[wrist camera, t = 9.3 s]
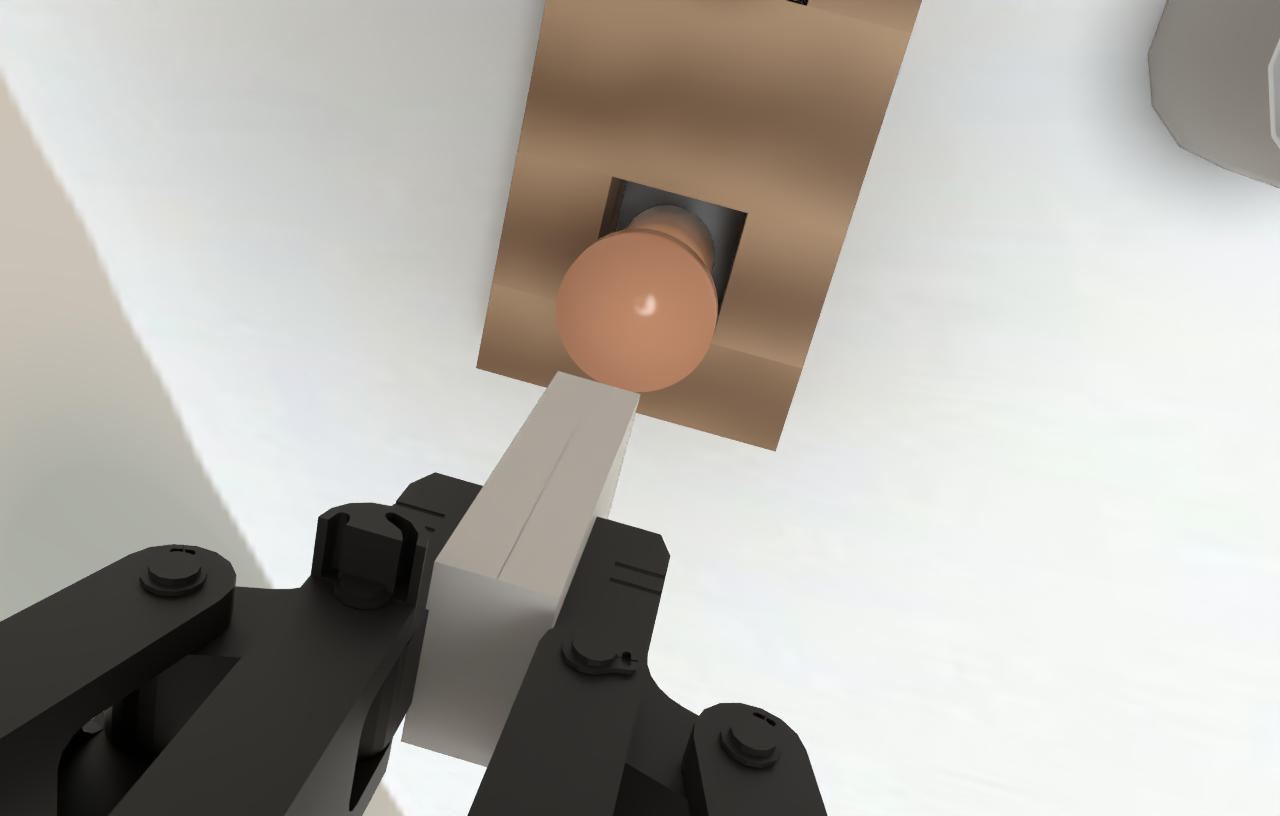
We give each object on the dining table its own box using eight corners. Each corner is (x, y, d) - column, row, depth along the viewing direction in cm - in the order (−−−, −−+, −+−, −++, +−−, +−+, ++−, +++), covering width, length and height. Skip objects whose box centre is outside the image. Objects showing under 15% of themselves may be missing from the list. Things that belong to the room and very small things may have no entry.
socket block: (638, -315, 35) (615, -365, 30) (979, -229, 34) (1008, -267, 30) (508, 330, 44) (476, 368, 39) (776, 405, 44) (775, 451, 39)
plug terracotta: (620, 173, 37) (574, 217, 29) (746, 207, 37) (734, 261, 29) (592, 296, 39) (541, 368, 31) (711, 328, 39) (692, 410, 31)
